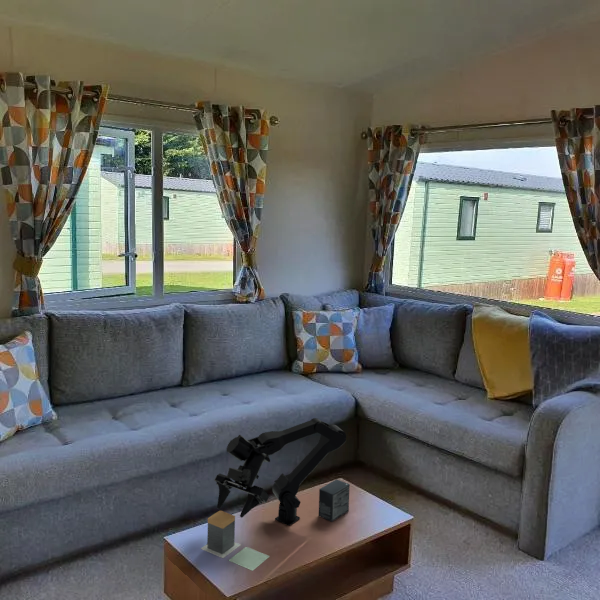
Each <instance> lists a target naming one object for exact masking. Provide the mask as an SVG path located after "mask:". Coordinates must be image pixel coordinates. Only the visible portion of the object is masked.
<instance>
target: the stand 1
mask: <svg viewBox="0 0 600 600" xmlns="http://www.w3.org/2000/svg"><path fill="white" fill-rule="evenodd" d="M240 546H242V544H240V543H238V542H235V541H234V546H233V547H231V548H230V549H229V550H227V551H226V552H225V553H224V554H220V553H218V552H216V551H213V550H211V549H209V548H207V543H206V544H205V545H204V546H202V547H200V550H203V551H204V552H208V553H210V554H211V555H214V556H217V557H219V558H220V559H225V558H226V557H227V556H228V555H230V554H232V552H234V551H235V550H237V549H238V548H239V547H240Z"/></svg>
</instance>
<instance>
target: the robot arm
mask: <svg viewBox="0 0 600 600" xmlns="http://www.w3.org/2000/svg"><path fill="white" fill-rule="evenodd" d="M317 433H318V434H319V435H320V436H319V440H318V443H316V445H315V447H313V448H312V449H311V451H309V453H307V455H306V456H305V457H304V458H303V459H302V460H301V461H300V462H299V463H298V465H297V466H296V467H295V468H294V469H293V470H292V471H291V472H290V473H289V474H286V475H285V474H284V473H283V472H282V473H281V474H279V477H278V478H277V479H276V480H274V484H273V485H272V493H273V494H274V496H275V497H276V498H277V500H278V502H279V504H278V514H277V516H275V518H274V520H275V521H277V522H279V523H282V524H283V525H286V526H288V527H289V526H292V525H293V524H294V523H296V522H297V521H299V520H300V519H301V517H300V516H298V515H297V511H298V508H299V507H300V504H301V500H300V499H299V497H298V496H297V495H298V493H299V489H300V485H301V484H302V483H303V482H304V480H306V478H307V477H308V476H309V475H310V474H311V473H312V472H313V471H314V470H315V468H316V467H317V466H318V465H319V464H320V463H321V462H322V461H323V460H324V459H325V457H326V456H327V455H328V454H330V453H332V452H334V451H336V450H338V449H339V448H341V447H342V446H343V445H344V444H345V443H346V442H347V435H346V432H345V431H344V430H342V429H341V428H340V427H339V426H338V425H336V424H334V423H333V424H329V423H327V422H325V421H322V420H320V419H319V418H315V417H314V418H311V419H310V420H307V421H304V422H302V423H299V424H297V425H294V426H291V427H289V428H286V429H283V430H272V431H267V432H262V433H261V434H259V435H258V436H256V437H252V438H251V439H246V438H244V436H242V435H241V434H238V436H235V437H234V438H233V439H231V440H230V441H229V442H228V444H227V447H226V452H227V453H228V454H229V455H231V456H232V457H234V458H236V460H238V461H240V462H242V461H244V462H243V464H242V465H241V464H240V465H239V466H238V468H235V467H229V468H228V472H227V474H226V475H225V474H222V473H218V474H217V475H215V478H214V479H213V480H214V482H216V485H217V487H218V499H217V506H216V507H217V508H216V509H218V510H220V509H221V508H222V507H223V505H224V503H225V501H226V500H227V498H228V497H229V495H230V494H231V489H232V488H233V489H236V490H239V491H242V492H244V493H247V499H246V501H245V504H244V506H243V507H242V509H241V511H240V515H239V517H240V518H241V519H242V518H244V517H245V516H246V515H247V514H248V513H249V512H250V511H251V510H253V509H254V508H255V507H257V506H258V505H259V504H260V505H262V504H263V503H265V504H266V503H267V502H268V499H269V493H268V492H267V491H266V490H265V489H264V487H260V486H257V485H254V482H255V481H256V479H257V480H259V477H260V475H259V472H260V470H261V468H262V466H263V464H264V463H271V459H270V456H271V455H274V454H276V453H278V452H280V451H281V450H282V449H283V448H284V447H285V446H286V445H289V444H291V443H293V442H296V441H299V440H301V439H305V438H306V437H309V436H313V435H315V434H317Z"/></svg>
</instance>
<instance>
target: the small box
mask: <svg viewBox="0 0 600 600" xmlns="http://www.w3.org/2000/svg"><path fill="white" fill-rule="evenodd" d="M318 493H319V494H318V495H319V497H318V517H320V518H322V519H325V520H326V521H328V522H331V523H333V522H334V521H336V520H337V519H339V518H341V517H342V516H344V515H345V514H347V513H348V512H349V511H350V507H349V505H350V483H348V482H344V481H342V480H340V479H335V480H332V481H331V482H329V483H328V484H326V485H324V486H322V487H321V488H319V492H318Z"/></svg>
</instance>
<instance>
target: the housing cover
mask: <svg viewBox="0 0 600 600" xmlns="http://www.w3.org/2000/svg"><path fill="white" fill-rule="evenodd" d="M233 521H235V522H236V515H234V514H230V513H229V512H226V511H223V510H220V509H219V511H217V512H215V513H213V514H212V515H211V516H209V517H207V524H208V523H210V524H212V525H215V526H217V527H220V528H222V529H223V528H225V527H226V526H228V525H229V524H230V523H232V522H233Z"/></svg>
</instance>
